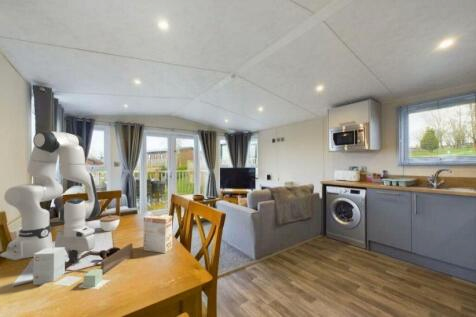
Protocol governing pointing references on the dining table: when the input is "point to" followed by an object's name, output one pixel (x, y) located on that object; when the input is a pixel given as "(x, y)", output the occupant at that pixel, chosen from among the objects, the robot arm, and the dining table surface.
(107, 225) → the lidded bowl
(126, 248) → the sled strip
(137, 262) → the dining table surface
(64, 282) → the broken strip
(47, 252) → the small box
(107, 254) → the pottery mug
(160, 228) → the coffeecake box
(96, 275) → the sage cube
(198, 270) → the dining table surface
